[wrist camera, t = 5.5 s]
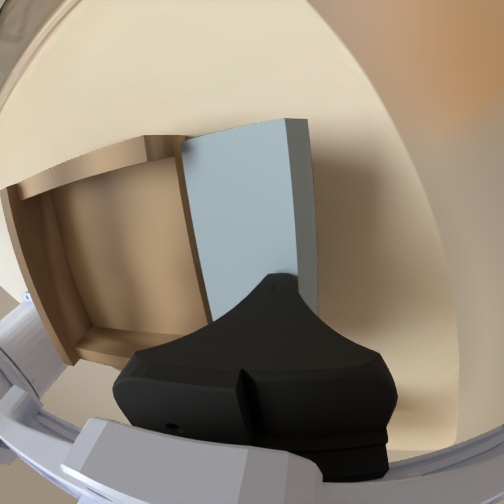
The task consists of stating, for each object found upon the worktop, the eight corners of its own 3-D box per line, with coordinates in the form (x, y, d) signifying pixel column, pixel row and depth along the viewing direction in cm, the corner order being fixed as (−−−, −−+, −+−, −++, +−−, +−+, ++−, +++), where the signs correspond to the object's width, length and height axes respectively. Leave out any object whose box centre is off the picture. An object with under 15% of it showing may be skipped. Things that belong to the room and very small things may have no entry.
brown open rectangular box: (100, 323, 22) (64, 363, 17) (55, 173, 17) (-1, 190, 12) (220, 332, 20) (198, 391, 15) (185, 135, 15) (131, 135, 10)
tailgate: (219, 348, 18) (300, 403, 13) (179, 142, 13) (284, 118, 8) (237, 338, 19) (318, 386, 14) (204, 138, 14) (312, 119, 9)
